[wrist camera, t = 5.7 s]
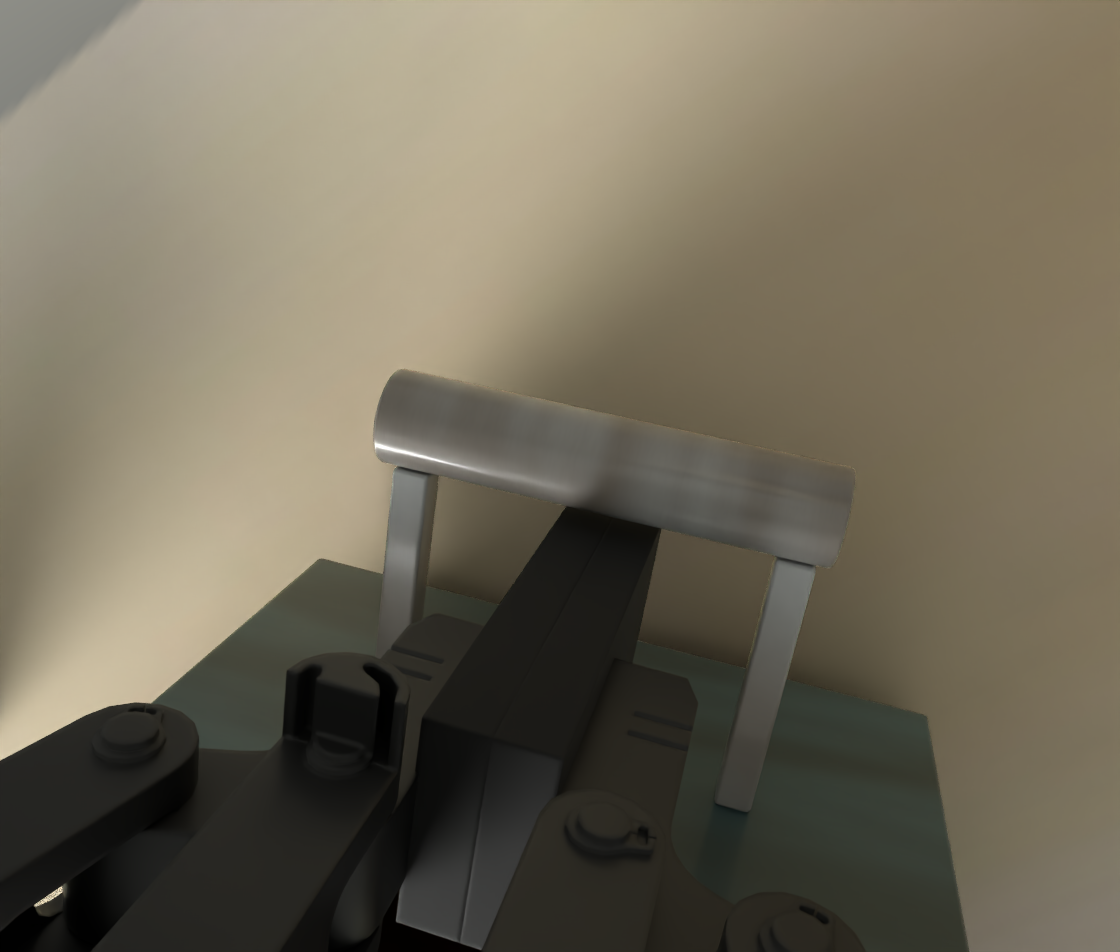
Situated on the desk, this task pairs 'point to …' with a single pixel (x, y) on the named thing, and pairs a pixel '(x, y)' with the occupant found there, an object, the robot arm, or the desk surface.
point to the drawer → (643, 653)
